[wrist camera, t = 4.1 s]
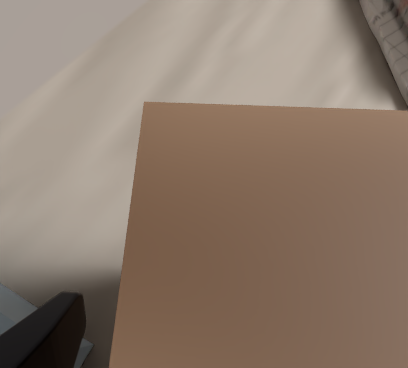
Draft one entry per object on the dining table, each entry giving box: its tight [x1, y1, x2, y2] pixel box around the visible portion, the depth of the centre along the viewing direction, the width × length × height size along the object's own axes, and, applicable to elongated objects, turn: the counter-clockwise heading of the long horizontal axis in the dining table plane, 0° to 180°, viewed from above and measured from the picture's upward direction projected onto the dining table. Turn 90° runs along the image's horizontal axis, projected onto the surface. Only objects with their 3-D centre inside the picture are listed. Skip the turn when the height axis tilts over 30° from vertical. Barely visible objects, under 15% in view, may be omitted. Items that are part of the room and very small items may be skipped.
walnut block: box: [109, 102, 408, 368], centre depth 9 cm, size 5×5×12 cm
